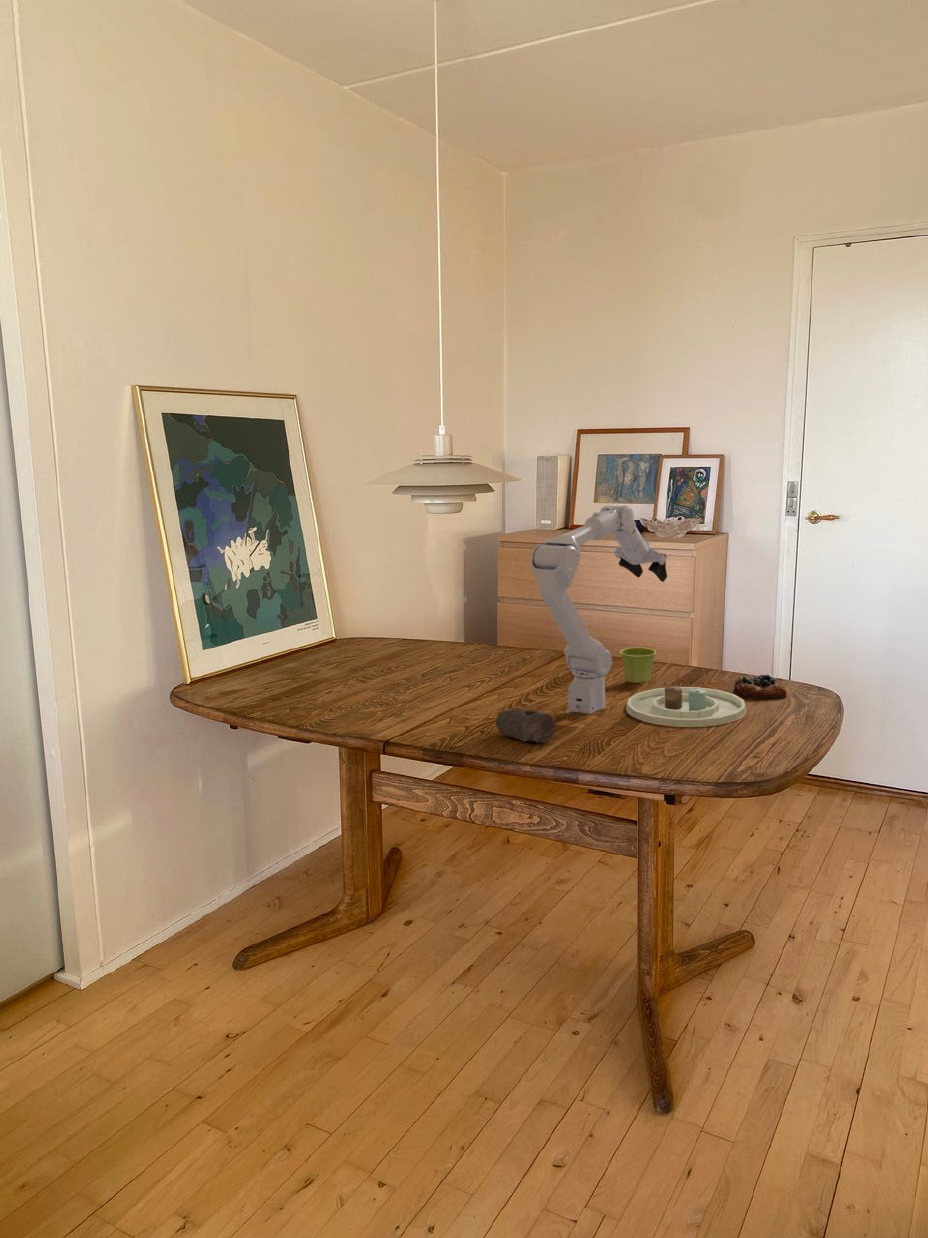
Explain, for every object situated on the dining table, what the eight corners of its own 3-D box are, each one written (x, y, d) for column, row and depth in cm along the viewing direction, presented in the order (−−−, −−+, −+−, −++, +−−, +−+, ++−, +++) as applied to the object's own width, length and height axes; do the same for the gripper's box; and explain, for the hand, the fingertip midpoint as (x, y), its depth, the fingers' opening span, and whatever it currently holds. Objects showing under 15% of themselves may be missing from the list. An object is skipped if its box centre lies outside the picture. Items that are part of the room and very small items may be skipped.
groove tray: (721, 738, 202) (721, 726, 202) (606, 720, 218) (605, 710, 217) (762, 704, 224) (763, 694, 223) (655, 691, 240) (655, 681, 239)
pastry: (728, 693, 236) (728, 670, 235) (776, 690, 236) (776, 668, 235) (742, 705, 225) (742, 681, 224) (791, 703, 225) (792, 679, 224)
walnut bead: (678, 710, 220) (678, 691, 219) (662, 708, 222) (662, 689, 221) (684, 705, 223) (684, 687, 222) (669, 703, 225) (668, 685, 224)
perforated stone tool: (489, 736, 211) (488, 707, 210) (504, 730, 215) (503, 701, 213) (542, 749, 201) (541, 718, 200) (557, 742, 205) (556, 712, 203)
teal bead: (702, 713, 216) (702, 694, 215) (686, 711, 219) (686, 692, 218) (709, 709, 219) (709, 690, 219) (692, 706, 222) (692, 688, 221)
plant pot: (654, 678, 252) (654, 646, 250) (658, 687, 243) (657, 655, 241) (619, 679, 253) (618, 647, 252) (621, 688, 244) (621, 656, 242)
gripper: (663, 533, 228) (683, 568, 237) (616, 526, 239) (636, 561, 247) (649, 554, 226) (670, 589, 234) (602, 547, 236) (623, 581, 245)
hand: (652, 576), depth 241 cm, fingers open, 7 cm apart
